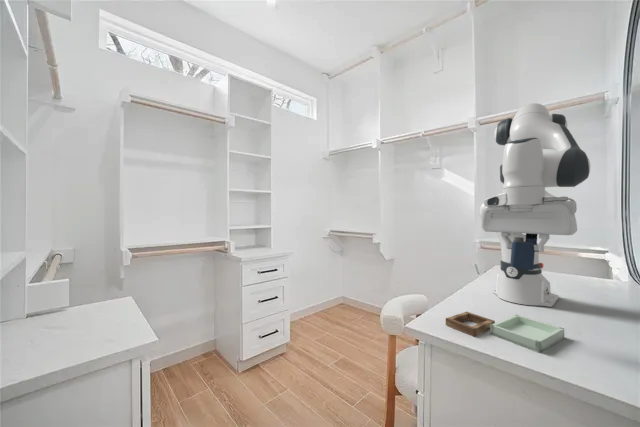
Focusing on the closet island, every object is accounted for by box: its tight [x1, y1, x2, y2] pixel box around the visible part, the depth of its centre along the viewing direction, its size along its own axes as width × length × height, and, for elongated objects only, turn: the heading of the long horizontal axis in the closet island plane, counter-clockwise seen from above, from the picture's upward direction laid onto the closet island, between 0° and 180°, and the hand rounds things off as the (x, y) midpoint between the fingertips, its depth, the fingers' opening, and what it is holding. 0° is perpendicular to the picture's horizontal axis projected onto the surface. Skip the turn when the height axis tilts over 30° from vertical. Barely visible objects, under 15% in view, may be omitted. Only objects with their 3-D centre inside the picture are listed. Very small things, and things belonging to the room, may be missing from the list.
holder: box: [445, 311, 496, 337], centre depth 74 cm, size 10×8×2 cm
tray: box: [489, 314, 565, 354], centre depth 68 cm, size 14×11×2 cm
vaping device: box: [510, 233, 539, 270], centre depth 68 cm, size 3×5×12 cm, turn 54°
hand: (524, 250), depth 68 cm, fingers closed on vaping device, 5 cm apart
